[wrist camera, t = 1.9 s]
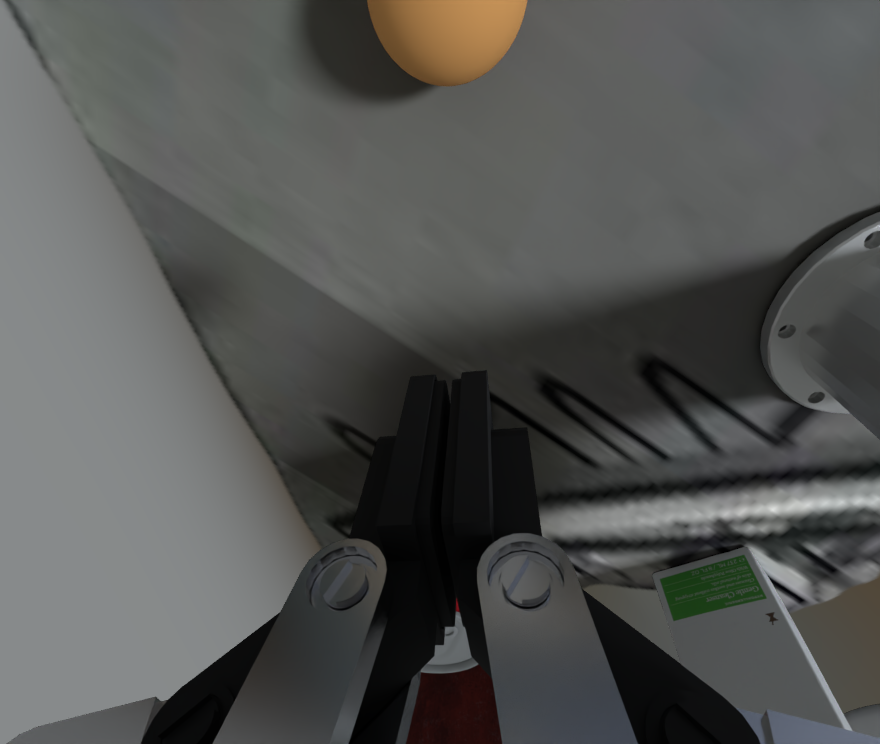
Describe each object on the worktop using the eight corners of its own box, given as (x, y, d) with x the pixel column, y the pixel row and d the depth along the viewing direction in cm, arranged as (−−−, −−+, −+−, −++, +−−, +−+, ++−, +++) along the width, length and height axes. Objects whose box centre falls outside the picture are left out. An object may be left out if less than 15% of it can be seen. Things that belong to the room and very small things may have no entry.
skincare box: (747, 542, 36) (896, 803, 23) (773, 584, 39) (920, 839, 26) (646, 574, 39) (727, 819, 26) (676, 611, 42) (763, 850, 29)
